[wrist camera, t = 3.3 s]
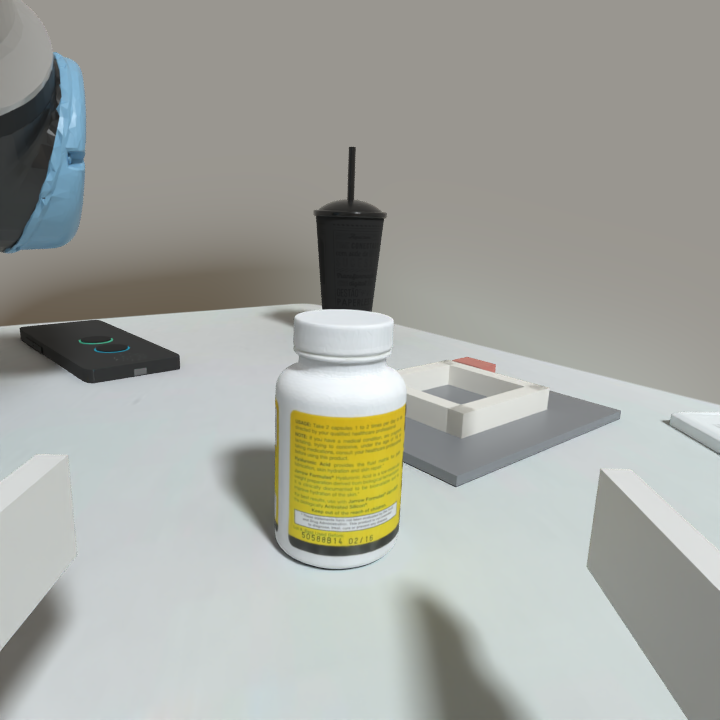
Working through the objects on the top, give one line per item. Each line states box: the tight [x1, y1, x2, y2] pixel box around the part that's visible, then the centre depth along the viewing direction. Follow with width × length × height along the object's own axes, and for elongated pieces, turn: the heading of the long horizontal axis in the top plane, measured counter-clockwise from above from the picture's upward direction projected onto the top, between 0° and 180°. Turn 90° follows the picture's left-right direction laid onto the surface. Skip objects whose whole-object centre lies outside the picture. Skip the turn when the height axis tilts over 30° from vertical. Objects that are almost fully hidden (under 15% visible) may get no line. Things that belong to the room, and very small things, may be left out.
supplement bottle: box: [275, 309, 407, 569], centre depth 25 cm, size 5×5×10 cm
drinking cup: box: [314, 147, 387, 312], centre depth 63 cm, size 8×8×20 cm
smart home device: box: [20, 320, 180, 383], centre depth 56 cm, size 8×2×20 cm
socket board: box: [396, 357, 621, 487], centre depth 42 cm, size 16×18×2 cm
